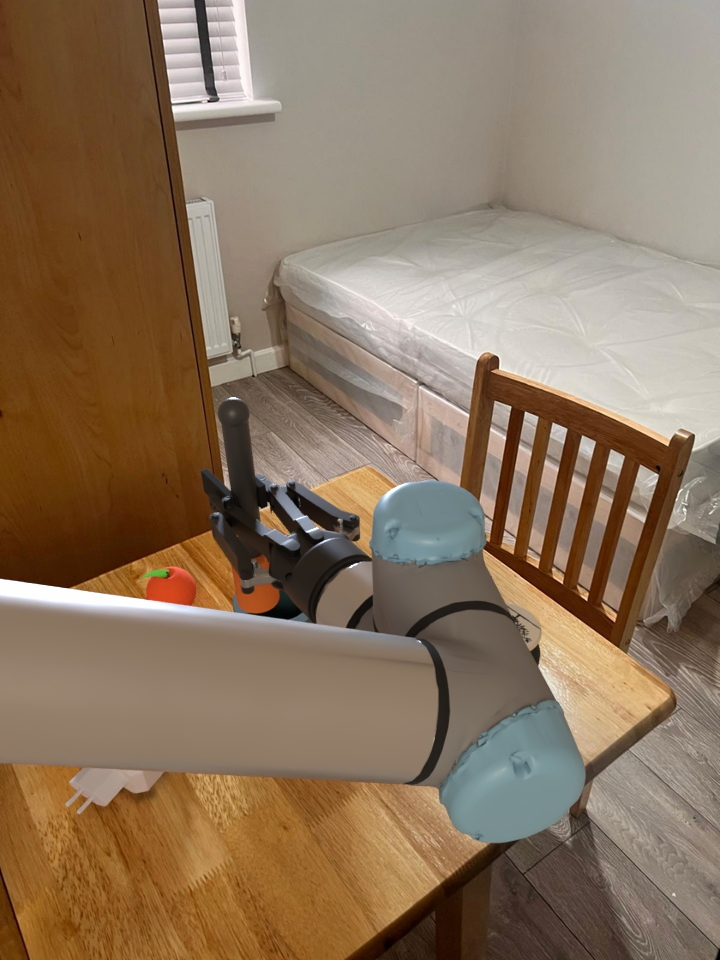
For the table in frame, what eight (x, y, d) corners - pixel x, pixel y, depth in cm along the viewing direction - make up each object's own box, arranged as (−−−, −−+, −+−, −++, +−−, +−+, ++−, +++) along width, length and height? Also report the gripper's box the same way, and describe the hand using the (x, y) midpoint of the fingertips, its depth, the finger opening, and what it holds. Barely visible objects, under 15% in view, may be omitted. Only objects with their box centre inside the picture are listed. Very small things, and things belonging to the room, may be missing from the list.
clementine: (136, 624, 103) (126, 586, 99) (153, 590, 109) (144, 553, 105) (191, 628, 102) (183, 590, 98) (205, 593, 108) (198, 556, 104)
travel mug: (487, 774, 83) (501, 667, 72) (444, 724, 88) (452, 618, 78) (539, 741, 86) (560, 634, 76) (495, 695, 92) (508, 589, 81)
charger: (48, 803, 81) (142, 705, 91) (108, 842, 77) (200, 735, 88) (36, 778, 78) (135, 680, 89) (98, 817, 74) (194, 709, 85)
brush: (255, 620, 80) (227, 417, 65) (228, 599, 83) (195, 400, 68) (288, 597, 83) (268, 398, 68) (260, 577, 86) (235, 382, 71)
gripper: (273, 668, 61) (157, 530, 77) (416, 588, 69) (284, 477, 84) (265, 603, 57) (144, 471, 73) (418, 526, 64) (278, 421, 80)
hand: (219, 474), depth 78 cm, fingers closed on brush, 3 cm apart
